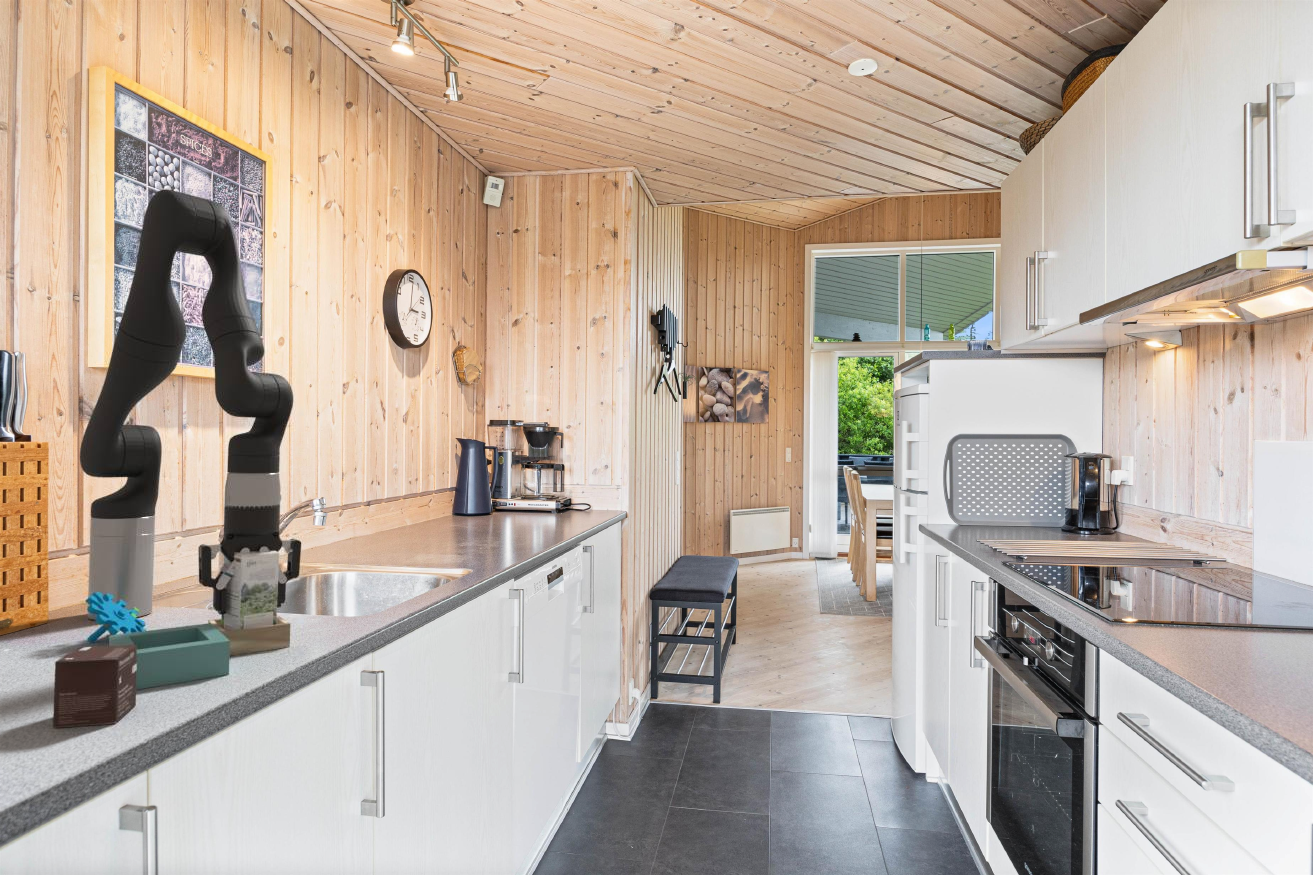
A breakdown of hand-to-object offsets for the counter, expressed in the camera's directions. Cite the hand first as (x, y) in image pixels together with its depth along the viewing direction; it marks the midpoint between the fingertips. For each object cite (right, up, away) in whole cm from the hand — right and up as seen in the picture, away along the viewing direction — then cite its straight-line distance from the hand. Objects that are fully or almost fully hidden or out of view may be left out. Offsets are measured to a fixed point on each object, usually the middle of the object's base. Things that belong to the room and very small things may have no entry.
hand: (249, 609), depth 115 cm
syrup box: (0, -6, 0) cm, 6 cm away
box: (-1, -5, -30) cm, 31 cm away
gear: (-21, -5, +1) cm, 21 cm away
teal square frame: (-4, -5, -14) cm, 15 cm away
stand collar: (0, -5, 0) cm, 5 cm away
